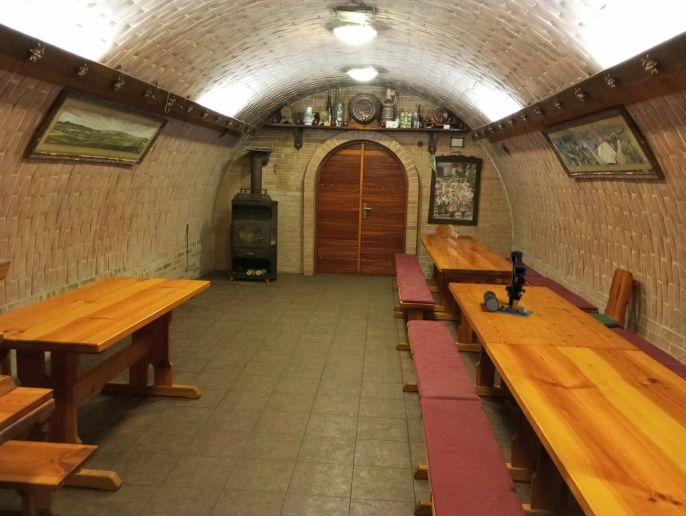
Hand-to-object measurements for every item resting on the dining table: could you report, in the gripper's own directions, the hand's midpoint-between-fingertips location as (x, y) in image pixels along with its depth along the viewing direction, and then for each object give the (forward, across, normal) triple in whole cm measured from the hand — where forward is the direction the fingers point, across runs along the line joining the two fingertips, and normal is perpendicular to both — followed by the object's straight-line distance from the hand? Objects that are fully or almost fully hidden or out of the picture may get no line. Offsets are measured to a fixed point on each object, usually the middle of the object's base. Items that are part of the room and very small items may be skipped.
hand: (516, 304), depth 392 cm
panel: (+5, +4, 0) cm, 7 cm away
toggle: (+4, +3, 0) cm, 5 cm away
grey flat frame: (+4, +5, 0) cm, 6 cm away
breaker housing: (+4, +4, +1) cm, 6 cm away
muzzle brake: (+5, +3, -18) cm, 18 cm away
